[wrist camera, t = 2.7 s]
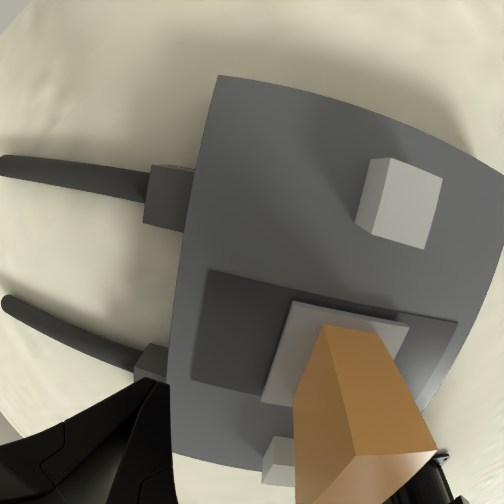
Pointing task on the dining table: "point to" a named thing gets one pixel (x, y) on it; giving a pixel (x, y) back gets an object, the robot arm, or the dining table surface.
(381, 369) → the breaker handle
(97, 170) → the twin dark prongs
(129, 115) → the dining table surface
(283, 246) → the panel
